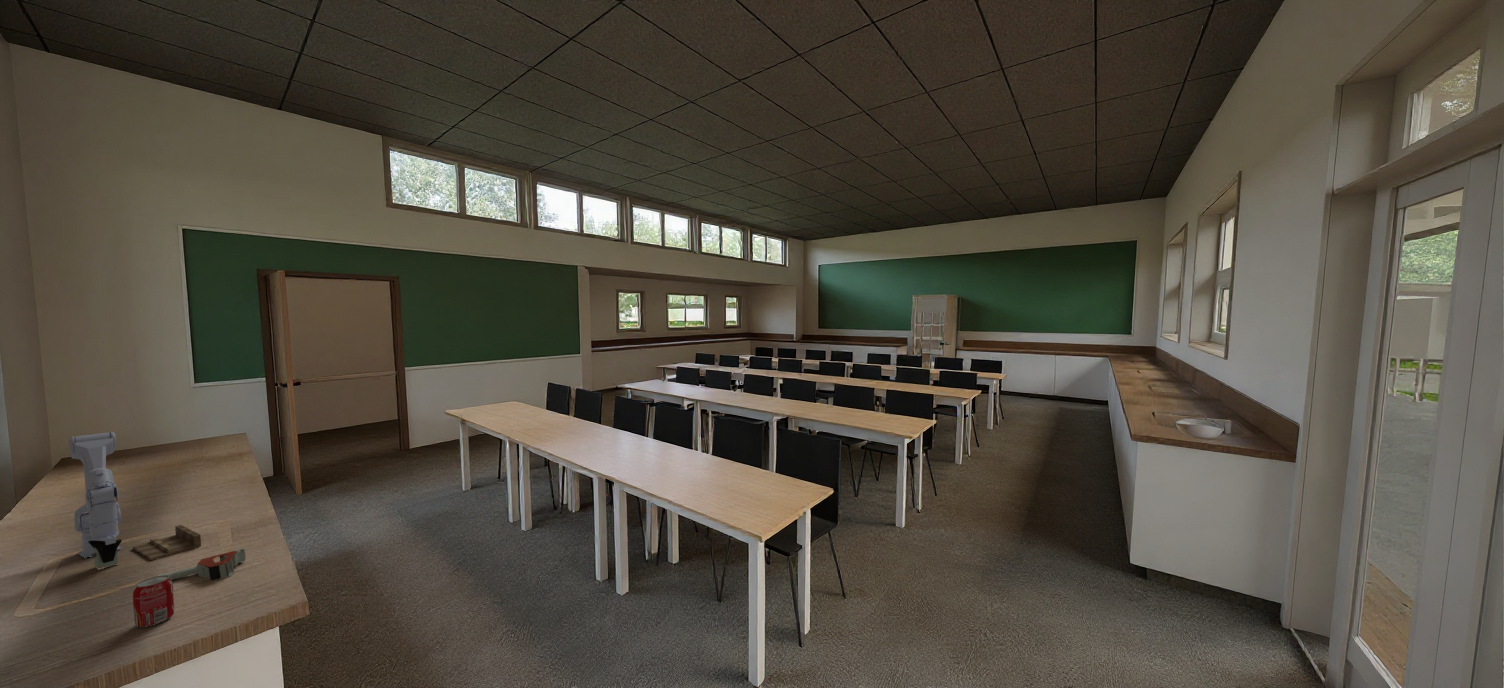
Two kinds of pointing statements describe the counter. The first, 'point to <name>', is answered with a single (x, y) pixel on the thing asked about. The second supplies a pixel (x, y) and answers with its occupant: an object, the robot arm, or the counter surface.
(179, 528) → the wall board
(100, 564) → the cabinet block
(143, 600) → the soda can
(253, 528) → the counter surface
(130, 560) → the counter surface
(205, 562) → the tape dispenser
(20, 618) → the counter surface
